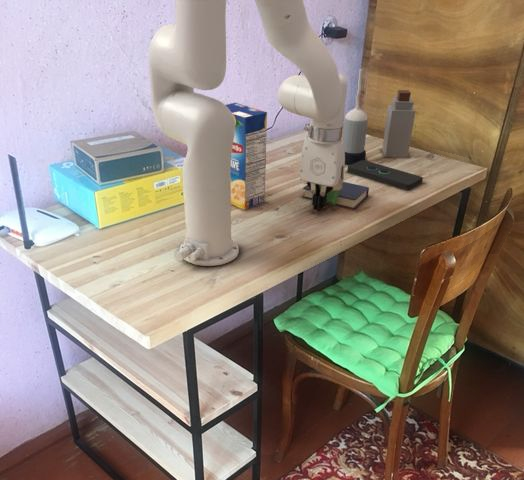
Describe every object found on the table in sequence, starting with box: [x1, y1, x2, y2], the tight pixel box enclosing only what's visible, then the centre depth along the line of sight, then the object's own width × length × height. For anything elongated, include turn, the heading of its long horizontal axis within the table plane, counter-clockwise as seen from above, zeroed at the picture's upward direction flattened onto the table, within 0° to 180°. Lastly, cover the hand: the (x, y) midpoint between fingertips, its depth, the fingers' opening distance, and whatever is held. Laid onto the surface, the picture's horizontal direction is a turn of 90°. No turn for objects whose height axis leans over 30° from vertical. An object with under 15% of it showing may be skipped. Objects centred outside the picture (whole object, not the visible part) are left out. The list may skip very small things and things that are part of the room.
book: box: [302, 181, 370, 210], centre depth 151 cm, size 9×14×3 cm, turn 61°
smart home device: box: [347, 159, 424, 191], centre depth 163 cm, size 8×2×20 cm
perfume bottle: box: [381, 89, 416, 159], centre depth 175 cm, size 7×7×18 cm
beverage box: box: [225, 102, 268, 211], centre depth 142 cm, size 7×11×22 cm, turn 44°
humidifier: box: [342, 68, 369, 166], centre depth 167 cm, size 8×8×25 cm
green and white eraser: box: [312, 177, 345, 206], centre depth 146 cm, size 7×5×3 cm
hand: (318, 208), depth 144 cm, fingers closed
